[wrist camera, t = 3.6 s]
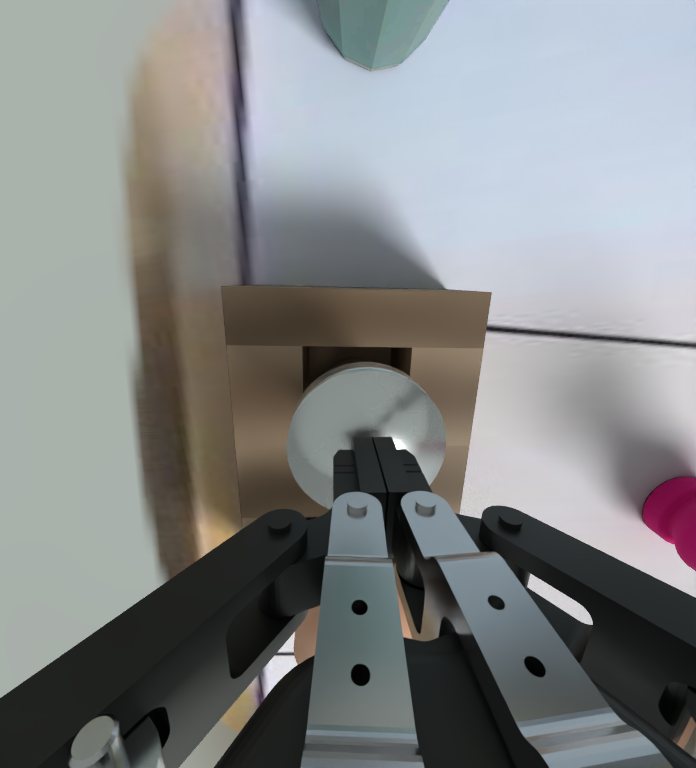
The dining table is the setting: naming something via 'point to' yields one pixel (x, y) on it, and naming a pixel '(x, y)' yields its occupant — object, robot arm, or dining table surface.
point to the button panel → (332, 343)
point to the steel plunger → (361, 421)
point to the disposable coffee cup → (378, 28)
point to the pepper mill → (675, 516)
